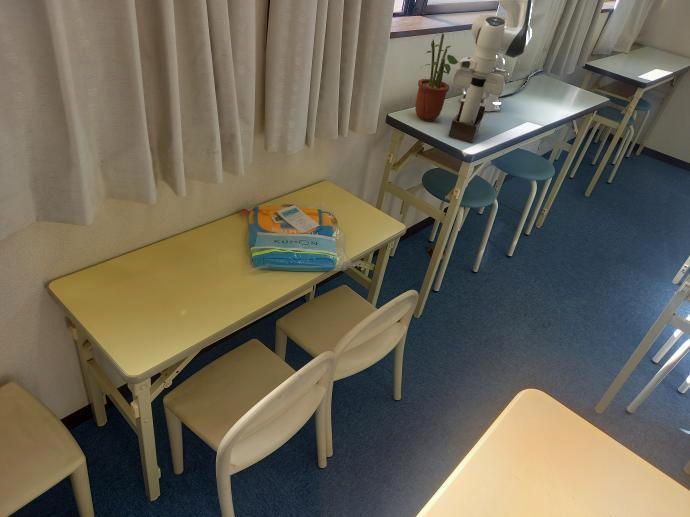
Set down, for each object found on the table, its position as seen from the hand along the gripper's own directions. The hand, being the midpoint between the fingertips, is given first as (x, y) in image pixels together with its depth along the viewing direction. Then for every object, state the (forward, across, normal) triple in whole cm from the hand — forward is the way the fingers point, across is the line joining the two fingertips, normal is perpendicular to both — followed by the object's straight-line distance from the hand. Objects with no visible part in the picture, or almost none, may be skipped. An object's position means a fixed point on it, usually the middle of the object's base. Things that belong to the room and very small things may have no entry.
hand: (473, 100), depth 193 cm
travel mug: (+10, 0, 0) cm, 10 cm away
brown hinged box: (+15, 0, 0) cm, 15 cm away
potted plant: (+15, +20, -10) cm, 26 cm away
